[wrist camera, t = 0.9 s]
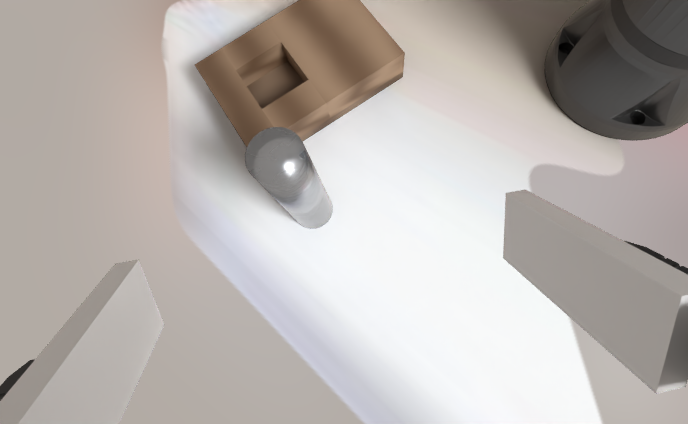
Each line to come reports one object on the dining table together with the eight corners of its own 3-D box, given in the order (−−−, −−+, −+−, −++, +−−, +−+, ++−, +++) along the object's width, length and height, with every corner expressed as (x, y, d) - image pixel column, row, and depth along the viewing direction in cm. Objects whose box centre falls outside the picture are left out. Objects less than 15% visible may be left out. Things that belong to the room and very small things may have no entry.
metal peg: (319, 183, 39) (285, 116, 25) (340, 214, 38) (316, 161, 24) (286, 204, 38) (234, 148, 25) (306, 236, 37) (263, 195, 24)
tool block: (342, 5, 44) (338, -25, 40) (402, 77, 41) (404, 52, 37) (211, 86, 43) (194, 64, 39) (262, 167, 40) (249, 151, 36)
